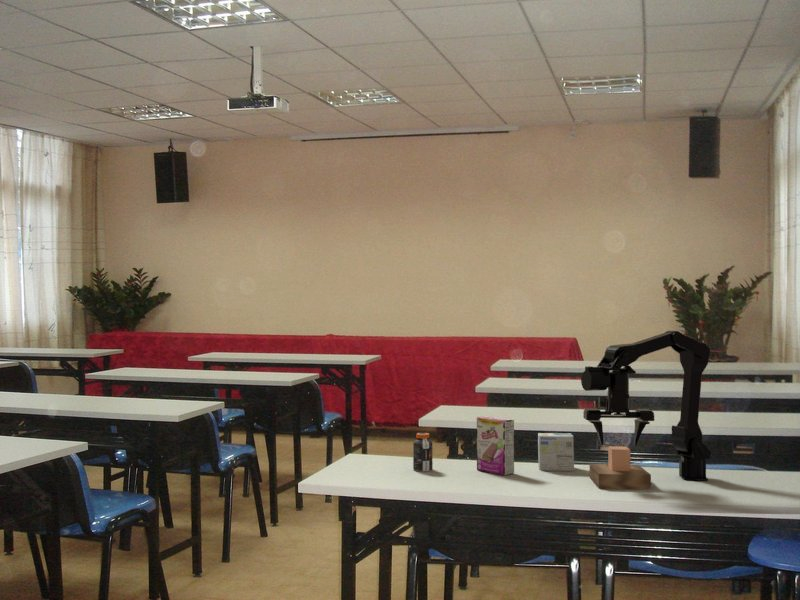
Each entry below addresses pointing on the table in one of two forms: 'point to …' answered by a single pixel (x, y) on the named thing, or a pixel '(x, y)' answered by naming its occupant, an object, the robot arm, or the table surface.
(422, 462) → the pill bottle
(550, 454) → the light bulb box
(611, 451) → the terracotta block
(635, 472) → the walnut plinth
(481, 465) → the candy bar box
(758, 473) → the table surface
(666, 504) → the table surface
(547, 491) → the table surface
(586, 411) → the robot arm
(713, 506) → the table surface
